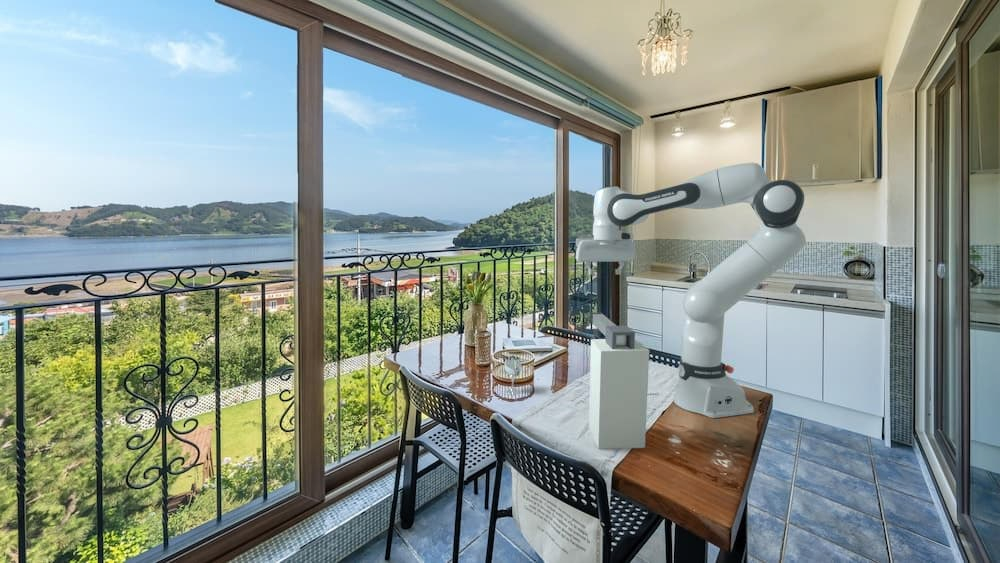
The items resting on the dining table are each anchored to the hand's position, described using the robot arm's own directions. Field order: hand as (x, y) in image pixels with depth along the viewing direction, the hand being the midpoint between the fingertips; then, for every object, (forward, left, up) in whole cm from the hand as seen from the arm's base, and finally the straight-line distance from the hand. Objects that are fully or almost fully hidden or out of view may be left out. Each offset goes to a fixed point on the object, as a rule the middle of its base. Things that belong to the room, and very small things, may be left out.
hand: (604, 274), depth 139 cm
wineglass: (+33, +8, -39) cm, 52 cm away
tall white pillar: (+7, +38, -39) cm, 55 cm away
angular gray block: (+7, +28, -13) cm, 32 cm away
